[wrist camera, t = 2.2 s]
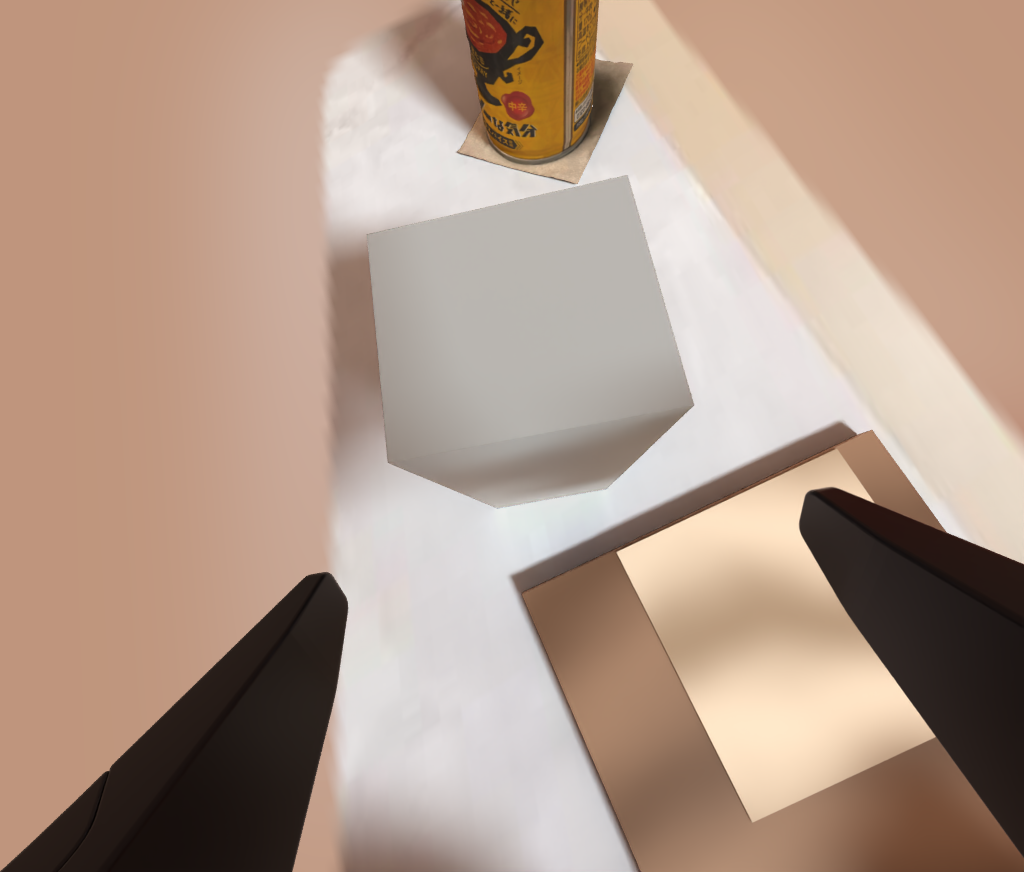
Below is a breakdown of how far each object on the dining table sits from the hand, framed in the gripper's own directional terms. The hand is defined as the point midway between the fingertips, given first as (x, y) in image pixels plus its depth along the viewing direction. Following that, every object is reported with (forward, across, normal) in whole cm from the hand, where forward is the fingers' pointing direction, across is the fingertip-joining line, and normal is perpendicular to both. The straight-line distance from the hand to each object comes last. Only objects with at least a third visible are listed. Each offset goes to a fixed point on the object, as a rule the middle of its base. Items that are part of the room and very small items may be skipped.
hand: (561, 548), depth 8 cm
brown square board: (+2, -8, +13) cm, 15 cm away
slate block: (+10, 0, +5) cm, 12 cm away
